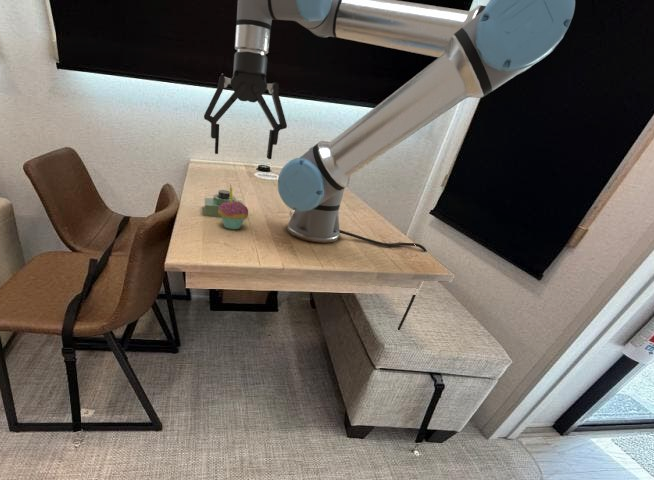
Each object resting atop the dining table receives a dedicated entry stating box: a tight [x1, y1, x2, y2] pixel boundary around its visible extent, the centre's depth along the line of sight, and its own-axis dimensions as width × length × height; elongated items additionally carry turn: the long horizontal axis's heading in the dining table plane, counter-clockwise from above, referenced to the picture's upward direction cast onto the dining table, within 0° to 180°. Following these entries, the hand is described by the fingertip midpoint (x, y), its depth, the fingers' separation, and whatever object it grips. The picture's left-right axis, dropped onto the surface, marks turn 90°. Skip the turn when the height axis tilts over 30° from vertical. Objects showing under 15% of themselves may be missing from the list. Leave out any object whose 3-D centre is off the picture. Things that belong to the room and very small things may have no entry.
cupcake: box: [218, 184, 249, 230], centre depth 91 cm, size 9×8×12 cm
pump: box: [217, 189, 230, 199], centre depth 101 cm, size 4×4×2 cm
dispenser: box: [204, 193, 244, 218], centre depth 103 cm, size 12×8×5 cm, turn 97°
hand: (243, 156), depth 84 cm, fingers open, 13 cm apart
